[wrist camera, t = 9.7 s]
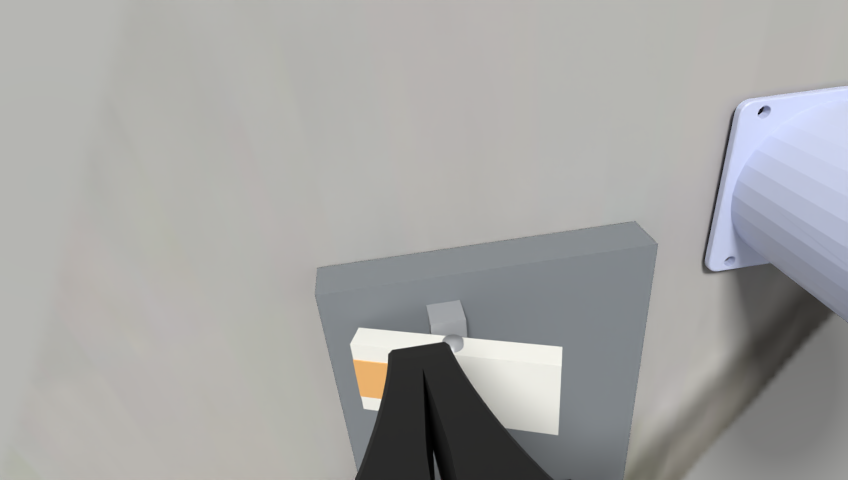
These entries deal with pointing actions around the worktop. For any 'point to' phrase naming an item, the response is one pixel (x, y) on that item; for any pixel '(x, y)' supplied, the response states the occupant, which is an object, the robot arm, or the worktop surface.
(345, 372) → the console
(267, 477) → the worktop surface
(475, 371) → the block
